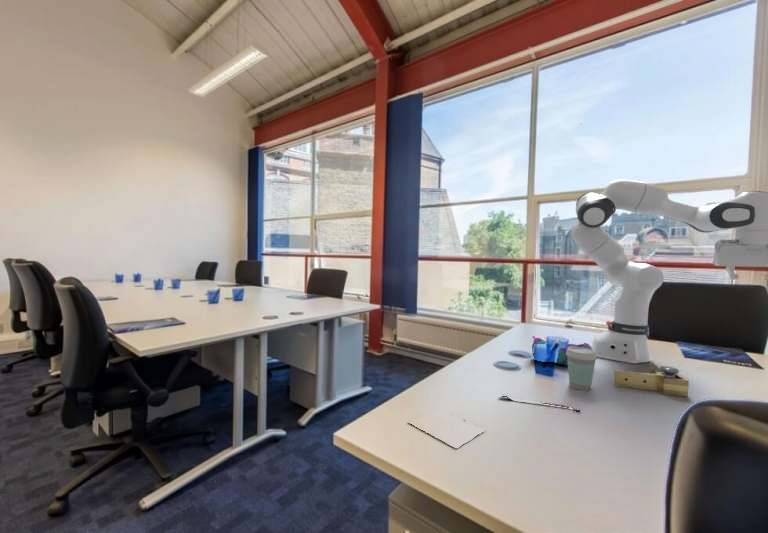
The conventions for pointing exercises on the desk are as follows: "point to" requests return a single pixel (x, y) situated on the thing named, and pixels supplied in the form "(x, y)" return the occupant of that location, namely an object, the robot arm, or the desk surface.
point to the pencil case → (561, 349)
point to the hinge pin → (669, 371)
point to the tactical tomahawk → (555, 405)
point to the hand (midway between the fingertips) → (751, 279)
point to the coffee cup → (580, 367)
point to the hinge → (652, 381)
